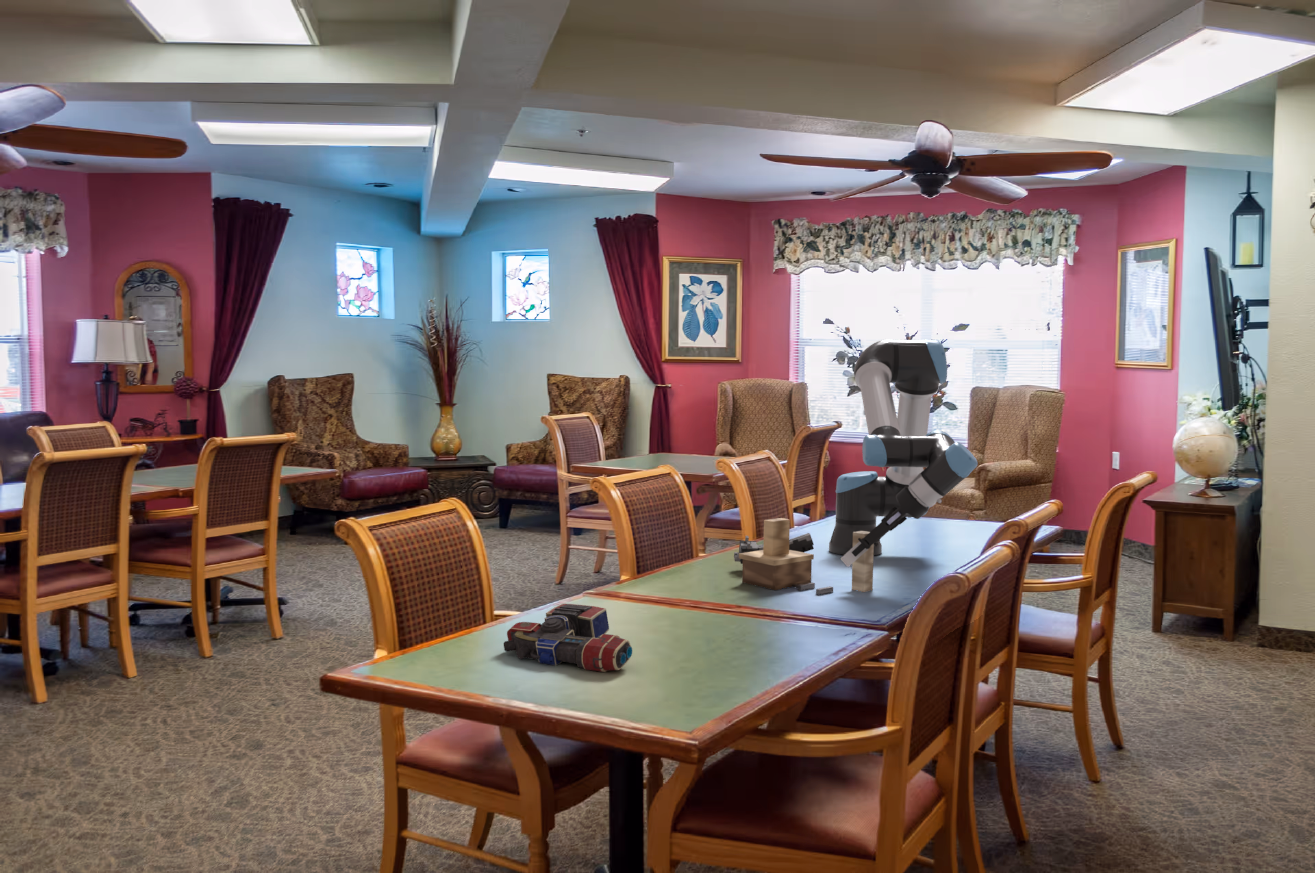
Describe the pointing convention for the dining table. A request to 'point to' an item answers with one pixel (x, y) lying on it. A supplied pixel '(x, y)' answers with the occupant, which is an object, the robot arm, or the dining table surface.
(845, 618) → the dining table surface
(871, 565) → the tan block
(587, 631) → the multicoloured piece
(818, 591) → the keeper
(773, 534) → the lid
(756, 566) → the open wooden box
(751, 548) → the toy
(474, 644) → the dining table surface
